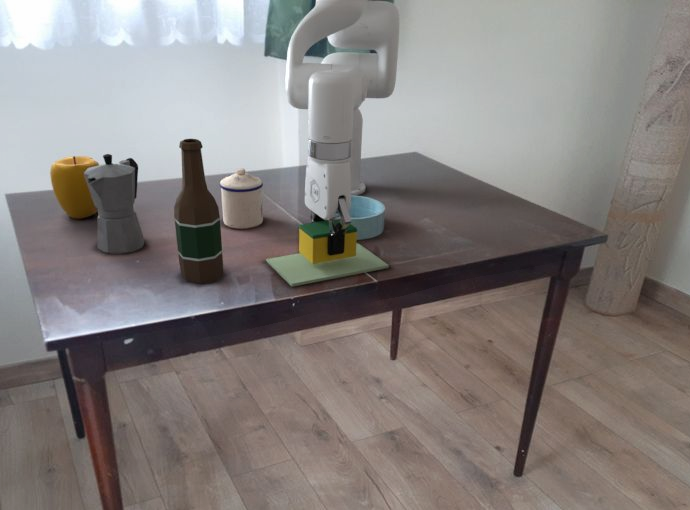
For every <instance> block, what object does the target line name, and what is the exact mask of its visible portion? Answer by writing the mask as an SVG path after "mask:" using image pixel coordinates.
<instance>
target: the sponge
mask: <svg viewBox="0 0 690 510" xmlns="http://www.w3.org/2000/svg"><path fill="white" fill-rule="evenodd" d="M337 223H340V220H334V225H335V226H336V225H337ZM328 234H330V229H329V222H328V220H327V221H321V222H314V223H312V222H308V223H302V224H298V243H299V244H298V253H301V254H302V255H303V256H304V257H305V258H306V259H308V260H309V261H310V262H311V263H312V264H315V263H321V262H326V261H332V260H337V259H343V258H348V257H354V256H356V243H358V242H357V241H358V240H357V228H356V227H354V226H353V225H351V224H350V225H349V226H348V228H347V230H346V234H345V245H344V253H342V254H336V255H331V256H330V255H328V253H327V251H328Z"/></svg>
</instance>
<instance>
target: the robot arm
mask: <svg viewBox="0 0 690 510" xmlns="http://www.w3.org/2000/svg"><path fill="white" fill-rule="evenodd" d="M399 13H400V12H399V10H398V7H397V5H395V4H394V2H391V1H386V0H315V5H314V7H313V8H311V10H310V11H309V12H308V13H307V14H305V16H304V17H303V18H302V19H301V20H300V21H299V23H298V25H297V26H296V28H295V29H294V31H293V32H292V35H291V37H290V40H289V42H288V45H287V46H288V47H287V53H286V65H285V76H284V77H285V78H284V79H285V81H284V91H285V98H286V101H287V102H288V104H289V105H290V106H291V107H293V108H295V109H297V110H298V109H299V110H307V111H308V112H307V114H308V117H307V118H308V119H307V120H308V121H307V124H308V125H307V131H308V132H307V136H308V137H307V161H306V168H305V181H304V205H305V206H306V207H307V209H309V210H310V212H311V213H310V220H311V223H314V222H321V221H327V220H328V222H329V229H330V234H328V251H327V253H328V255H330V256H331V255H336V254H342V253H344V245H345V234H346V230H347V228H348V226H349V225H350V224H351V222H352V220H351V217H350V208H351V195H355V196H360V195H362V194H364V193H365V192H366V188H367V187H366V185H365V183H364V182H362V181H361V163H362V141H363V125H364V124H363V123H364V121H363V115H362V112H361V109H360V107H361V106H362V104H363V102H365V100H366V99H387V98H389V97H390V96H392V95H393V93H394V90H395V87H396V81H397V72H398V71H397V70H398V57H399V44H400V43H399V41H400V25H401V21H400V14H399ZM325 38H327V41H328V43H329V44H330V45H331V46H332V47H334V48H336V49H344V50H366V51H367V50H368V51H375V52H376V53H375V52H374V53H373V52H371V53H370V52H366V53H365V52H351V51H348V52H347V51H346V52H345V51H340V52H339V51H338V52H332V53H330V54H328V55H326V56H325V57H323V59H322V60H321V62H320V63H318V62H304V58H305V55H306V53H307V52H308V51H309V50H310V48H312V46H314V45H315V44H317V43H318V42H320V41H322V40H323V39H325ZM335 213H339V215H340V216H337V217H334V216H335ZM334 220H340V223H337V225H336V226H335V225H334ZM313 221H314V222H313Z"/></svg>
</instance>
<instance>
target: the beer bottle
mask: <svg viewBox="0 0 690 510" xmlns="http://www.w3.org/2000/svg"><path fill="white" fill-rule="evenodd" d="M178 148H180V150H181V152H180V153H181V174H182V175H181V176H182V177H181V180H182V181H181V182H182V183H181V190H180V192H179V193H178V195H177V197H176V199H175V201H174V202H175V203H174V206H173V212H174V213H173V217H174V226H175V235H176V245H177V254H178V263H179V264H178V265H179V270H180V275H181V276H182V277H183V280H185V281H186V282H187V283H192V284H199V285H202V284H203V285H204V284H207V283H213V282H216V281H218V280H219V279H220V278H221V277H222V276H223V274H224V256H223V244H222V243H223V242H222V228H221V216H220V209H219V205H218V203H217V201H216V198H215V197H214V196H213V194H212V193H211V191H210V190H209V189H208V185H207V181H206V175H205V169H204V161H203V154H202V148H204V147H203V143H202V141H201V140H200V139H197V138H185V139H182V140H180V141H179V144H178Z"/></svg>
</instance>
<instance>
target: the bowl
mask: <svg viewBox="0 0 690 510" xmlns="http://www.w3.org/2000/svg"><path fill="white" fill-rule="evenodd" d="M337 216H340V215H339V213H335V216H334V217H337ZM350 217H351V220H352V222H351V225H353V226H354V227H356V228H357V241H360V240H361V241H363V240H368V239H372V238H375V237H378V236H379V235H381V234H382V233H383V232H384V230H385V218H386V206H385V205H384V203H382V202H381V201H379V200H377V199H374V198H372V197H367V196H364V195H363V196H362V195H351V208H350ZM312 222H314V221H312Z"/></svg>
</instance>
